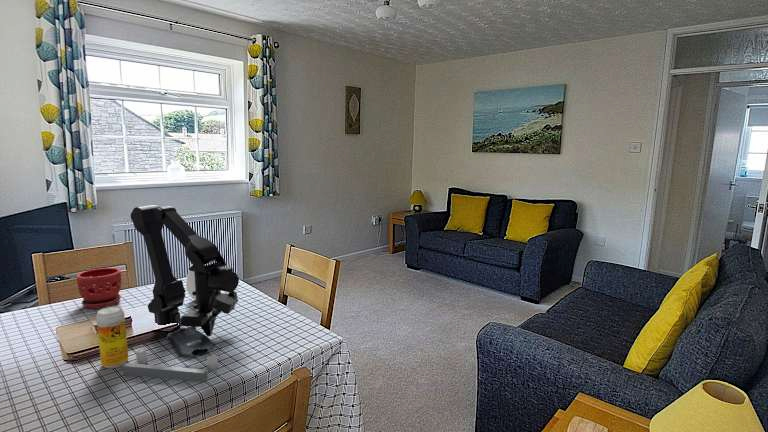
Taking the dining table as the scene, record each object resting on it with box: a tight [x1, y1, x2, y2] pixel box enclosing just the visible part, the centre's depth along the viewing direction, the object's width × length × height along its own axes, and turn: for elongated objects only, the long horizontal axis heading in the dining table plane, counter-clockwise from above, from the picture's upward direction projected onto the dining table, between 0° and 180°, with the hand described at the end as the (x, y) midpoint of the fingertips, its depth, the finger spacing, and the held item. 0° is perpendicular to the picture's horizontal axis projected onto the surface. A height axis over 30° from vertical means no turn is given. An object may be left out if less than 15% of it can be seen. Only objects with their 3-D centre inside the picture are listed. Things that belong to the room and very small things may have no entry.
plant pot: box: [76, 267, 122, 309], centre depth 148 cm, size 13×13×12 cm
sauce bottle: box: [185, 263, 196, 301], centre depth 152 cm, size 8×8×18 cm
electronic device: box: [166, 326, 213, 359], centre depth 119 cm, size 9×6×15 cm
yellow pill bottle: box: [96, 305, 129, 369], centre depth 108 cm, size 6×6×15 cm
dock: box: [121, 348, 219, 383], centre depth 106 cm, size 22×7×4 cm, turn 83°
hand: (209, 335), depth 123 cm, fingers closed
